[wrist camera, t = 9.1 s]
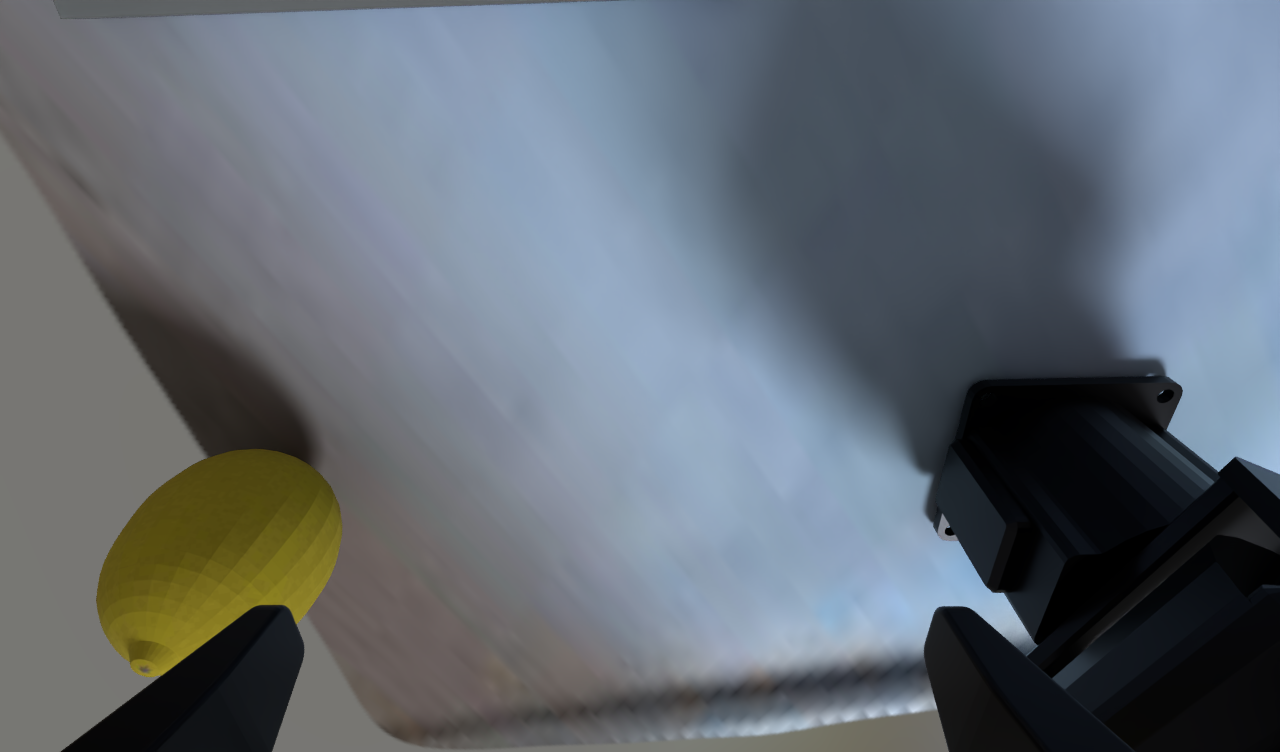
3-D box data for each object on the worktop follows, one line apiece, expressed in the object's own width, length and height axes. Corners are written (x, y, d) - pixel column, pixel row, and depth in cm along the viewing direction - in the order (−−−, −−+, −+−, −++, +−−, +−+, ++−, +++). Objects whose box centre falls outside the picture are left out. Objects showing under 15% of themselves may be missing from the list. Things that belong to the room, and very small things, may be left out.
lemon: (346, 549, 25) (227, 760, 18) (199, 487, 23) (6, 691, 16) (400, 450, 22) (288, 648, 15) (240, 375, 21) (36, 556, 14)
